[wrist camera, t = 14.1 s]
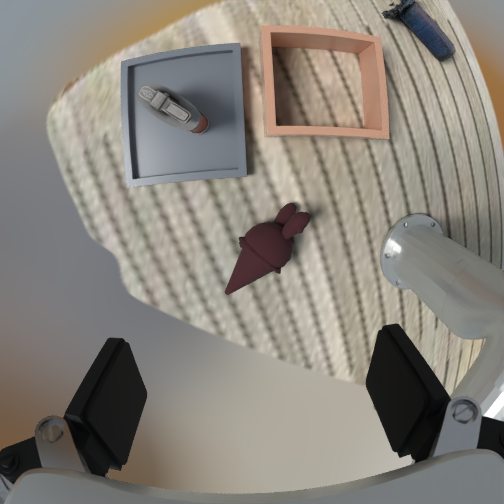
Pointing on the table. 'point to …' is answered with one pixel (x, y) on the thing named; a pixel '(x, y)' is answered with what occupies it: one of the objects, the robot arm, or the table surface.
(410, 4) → the dark blue piece
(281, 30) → the pink open box
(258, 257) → the icecream
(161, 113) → the lighter
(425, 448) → the robot arm
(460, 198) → the table surface
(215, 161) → the tray
